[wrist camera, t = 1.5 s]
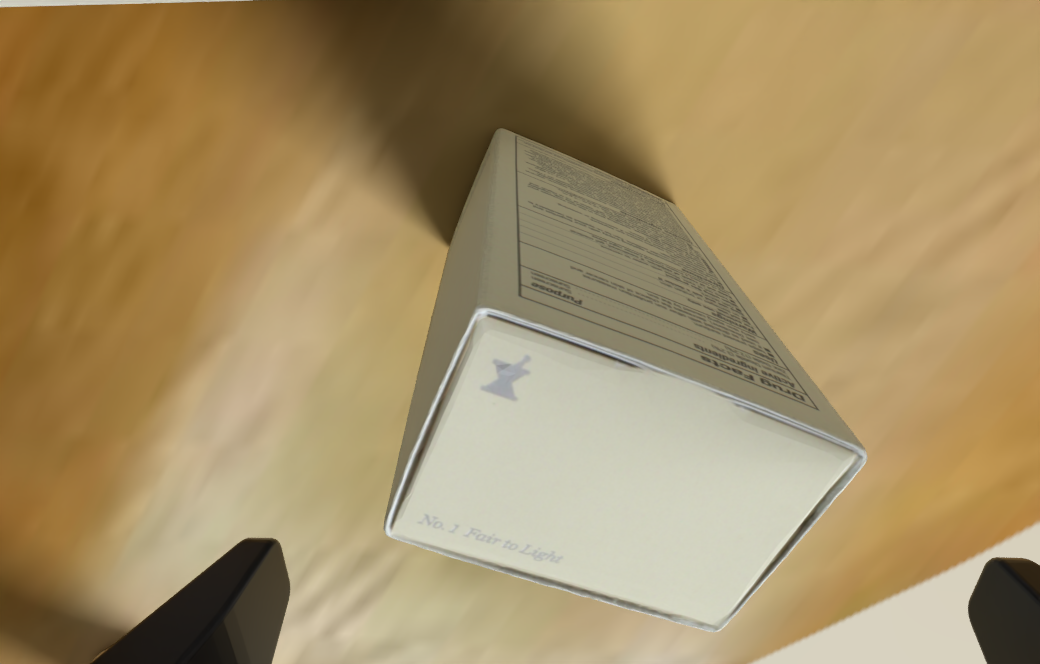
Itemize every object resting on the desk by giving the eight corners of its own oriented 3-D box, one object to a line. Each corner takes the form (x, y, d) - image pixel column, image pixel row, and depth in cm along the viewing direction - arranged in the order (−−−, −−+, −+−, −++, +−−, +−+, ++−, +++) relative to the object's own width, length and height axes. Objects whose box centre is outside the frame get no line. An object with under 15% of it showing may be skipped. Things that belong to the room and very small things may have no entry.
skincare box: (445, 251, 21) (356, 538, 10) (499, 116, 19) (461, 292, 8) (624, 322, 22) (717, 650, 11) (692, 202, 20) (885, 458, 9)
